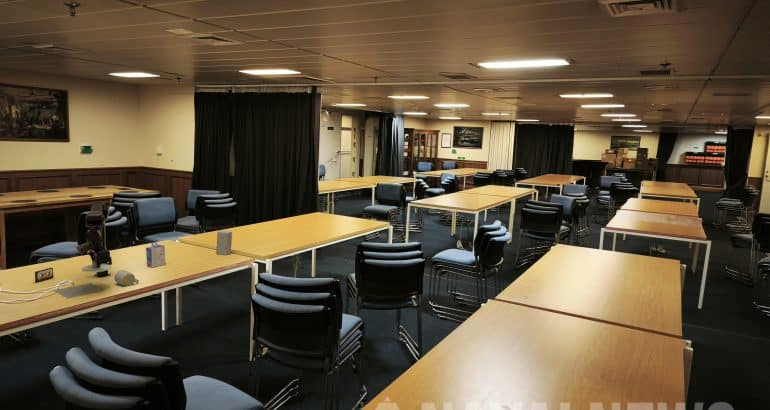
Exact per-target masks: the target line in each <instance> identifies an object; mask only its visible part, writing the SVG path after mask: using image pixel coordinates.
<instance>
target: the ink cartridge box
mask: <svg viewBox="0 0 770 410" xmlns="http://www.w3.org/2000/svg"><path fill="white" fill-rule="evenodd" d="M145 253H146V254H145V255H146V268H147V267H148V268H156V267H160V266H164V265H166V246H165V245H164V244H163V245H162V244H158V243H157V242H156V241H155V242H151V246H147V247H145Z"/></svg>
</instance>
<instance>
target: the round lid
mask: <svg viewBox="0 0 770 410" xmlns="http://www.w3.org/2000/svg"><path fill="white" fill-rule="evenodd" d="M111 268H112V265H107V264H101V265H100V267H98V268H97V265H96V261H95V260H94V261H92V260H91V264H90V265H85V266H83V267H82V268H81V272H84V273H96V272H102V271H106V270H108V271H109V270H110V269H111Z"/></svg>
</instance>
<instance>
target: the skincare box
mask: <svg viewBox="0 0 770 410" xmlns="http://www.w3.org/2000/svg"><path fill="white" fill-rule="evenodd" d="M216 233H217V234H216V248H215V249H216V251H215V253H216V255H221V256H222V255H223V256H228V255H230V254H232V240H233V231H229V230H220V231H219V230H218V231H216Z"/></svg>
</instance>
